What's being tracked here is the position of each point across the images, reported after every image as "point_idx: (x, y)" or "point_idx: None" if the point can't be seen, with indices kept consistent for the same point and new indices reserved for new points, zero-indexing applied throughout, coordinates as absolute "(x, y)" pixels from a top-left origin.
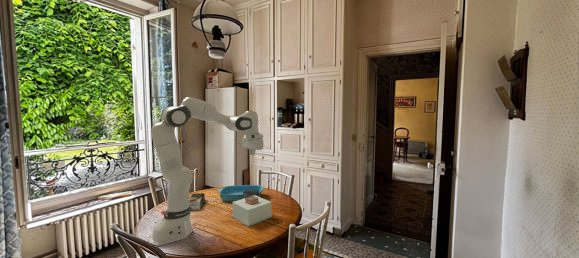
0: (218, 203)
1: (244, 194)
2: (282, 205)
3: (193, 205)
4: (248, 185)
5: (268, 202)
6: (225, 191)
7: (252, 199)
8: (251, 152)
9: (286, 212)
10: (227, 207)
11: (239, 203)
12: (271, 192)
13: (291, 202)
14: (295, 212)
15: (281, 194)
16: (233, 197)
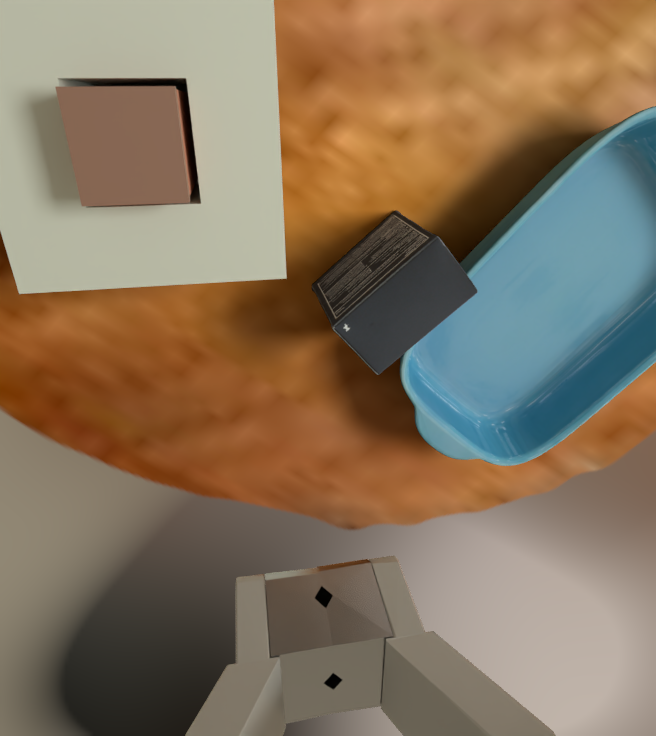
0: (599, 71)
1: (419, 239)
2: (199, 423)
3: None
4: (602, 402)
5: (22, 266)
6: None
7: (79, 128)
8: (382, 669)
9: (72, 378)
10: (469, 84)
11: (178, 8)
12: (443, 486)
13: (203, 489)
14: (36, 421)
15: (364, 513)
16: (535, 192)
